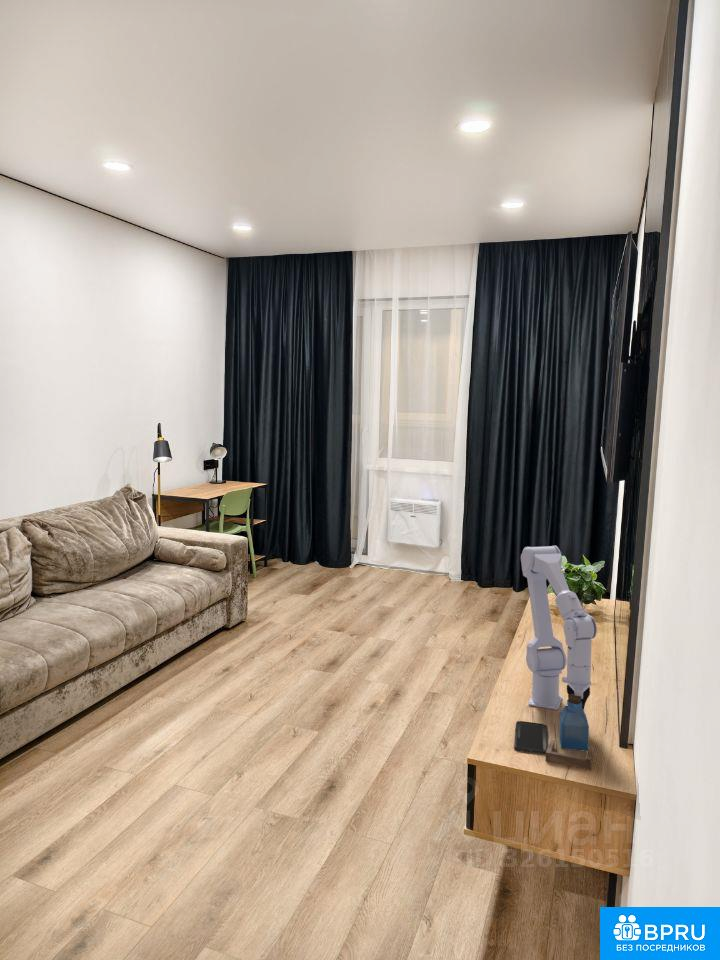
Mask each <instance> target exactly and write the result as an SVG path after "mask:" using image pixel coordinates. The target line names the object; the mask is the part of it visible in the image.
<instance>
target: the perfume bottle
mask: <svg viewBox="0 0 720 960" xmlns="http://www.w3.org/2000/svg"><path fill="white" fill-rule="evenodd" d="M567 698H568V699H567V700H566V704H567V705H564V707H563V708H562V709H561V711H560V712H559V729H558V730H559V731H558V733H559V734H558V735H559V736H558V737H559V745H560V749H562V750H570V749H572V750H573V751H580V750H584V751H583V752H588V748H589V736H590V735H589V733H590V729H589V728H590V727H589V726H590V725H589V722H588V719H587V715H586V712H585V709H584V710H583V708H582V701H581V696H575V695H574V694H569V695H568V694H567ZM574 749H575V750H574Z"/></svg>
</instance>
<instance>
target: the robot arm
mask: <svg viewBox="0 0 720 960" xmlns="http://www.w3.org/2000/svg"><path fill="white" fill-rule="evenodd" d="M520 562H521V571H522V576H523V577H525V578H526V579H527V586H528V588H527V589H528V593H529V594H528V595H529V603H530V610H531V616H532V625H533V632H534V637H532V639H531V640H530V641H529V642H528V643H527V644H526V657H525V661H526V665H527V667H528V669H529V671H530V672H531V673H532V681H531V683H532V684H531V686H532V687H531V690H532V691H531V696H530V700H529V701H528V706H533V707H539V708H543V709H549V710H555V711H558V710H559V708H560V705H561V702H562V699H563V696H562V695H560V693H559V692H560V674H563V670H565V669H566V676H562V678H561V682H562V683H565V684H567V685H566V692H567V696H568V695H569V694H574V695H575V696H581V701H582V708H583V710H584V711H585V707H586V702H587V700H588V698H590V695H591V686H592V680H591V678H592V677H591V675H592V674H591V673H592V672H591V671H592V670H591V668H592V639H594V638H596V635H597V633H598V632H597V631H598V627H597V623H596V621H595V618H594V617H593V616H592V615H589V613H588V612H586V611H585V610H584V607H583V606H582V604H581V601H580V599H579V597H578V595H577V593H576V592H575V591H571V590H570V588H569V586H568V583H567V580H566V577H565V574H564V572H563V570H562V564H563V555H562V552H561V550H560V548H559V547H558V546H557V545H551V546H550V545H549V546H525V547H524V548H523V550H522V553H521V554H520ZM547 581H548V583H549V584H550V586H551V588H552V590H553V591H554V593H555V595H556V598H555V600H554V602H555V605H556V607H557V608H558V611H559V613H560V615H561V618H562V620H563V622H564V623H563V625H562V628H563V633H564V636H565V645H566V646H567V652H565V648H564V647H563V642H562V641H561V640H559V639H557V638H556V637H555V636H554V631H553V624H552V623H553V622H552V618H551V617H552V616H551V611H550V601H549V594H548V587H547ZM547 647H548V648H547ZM566 653H567V654H566Z"/></svg>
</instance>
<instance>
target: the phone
mask: <svg viewBox="0 0 720 960" xmlns="http://www.w3.org/2000/svg"><path fill="white" fill-rule="evenodd" d="M514 732H515V733H514V743H513V749H514V750H515V751H517V752H521V753H529V754H537V755H546V750H547V748H548V725H547V724H545V723H542V722H541V723H540V722H532V721H524V720H517V721H516V722H515V729H514Z"/></svg>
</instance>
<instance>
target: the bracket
mask: <svg viewBox="0 0 720 960" xmlns="http://www.w3.org/2000/svg"><path fill="white" fill-rule="evenodd" d="M555 743H556V739H553V738H550V740H549V742H548V744H547V747H548V748H547V750H546V754H545V759H544V760H545V761H546V762H549V763H550V762H551V763H556V764H559V765H560V764H561V765H566V766H569V767H574V766H576V768H579V769H584V768H585V770H589V771H592V762H593V758H594V747H593V746H589V745H588V751H587V753H586V757H583V756H578V755H577V756H576V755H571V754H566V753H561V752H556V751H555V747H556V744H555Z"/></svg>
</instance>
